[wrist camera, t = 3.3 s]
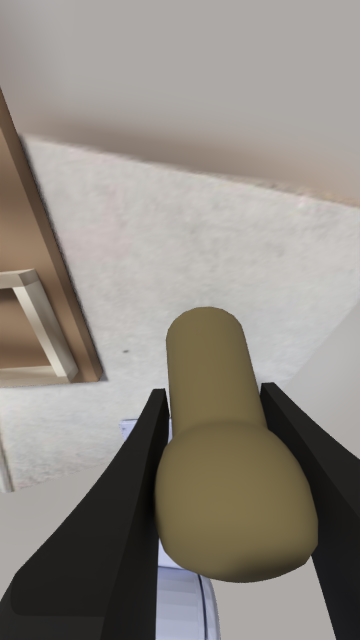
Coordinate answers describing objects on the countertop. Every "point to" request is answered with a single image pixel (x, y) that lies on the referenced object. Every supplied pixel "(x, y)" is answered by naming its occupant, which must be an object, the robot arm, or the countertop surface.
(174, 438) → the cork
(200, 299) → the countertop surface
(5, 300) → the board
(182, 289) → the countertop surface
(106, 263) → the countertop surface
